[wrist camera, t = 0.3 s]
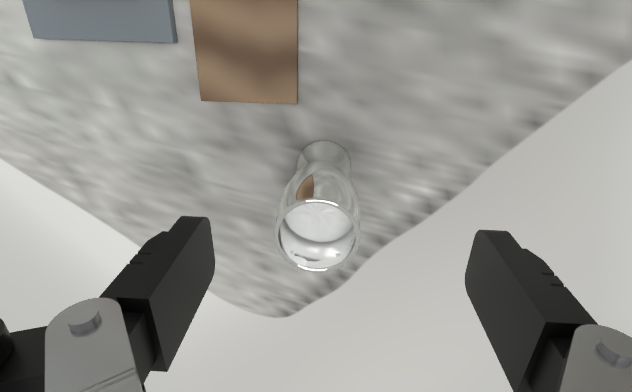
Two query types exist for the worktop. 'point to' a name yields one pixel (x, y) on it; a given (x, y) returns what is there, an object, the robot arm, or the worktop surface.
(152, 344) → the robot arm
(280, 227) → the beer glass
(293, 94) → the coaster
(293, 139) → the worktop surface
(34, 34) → the base
